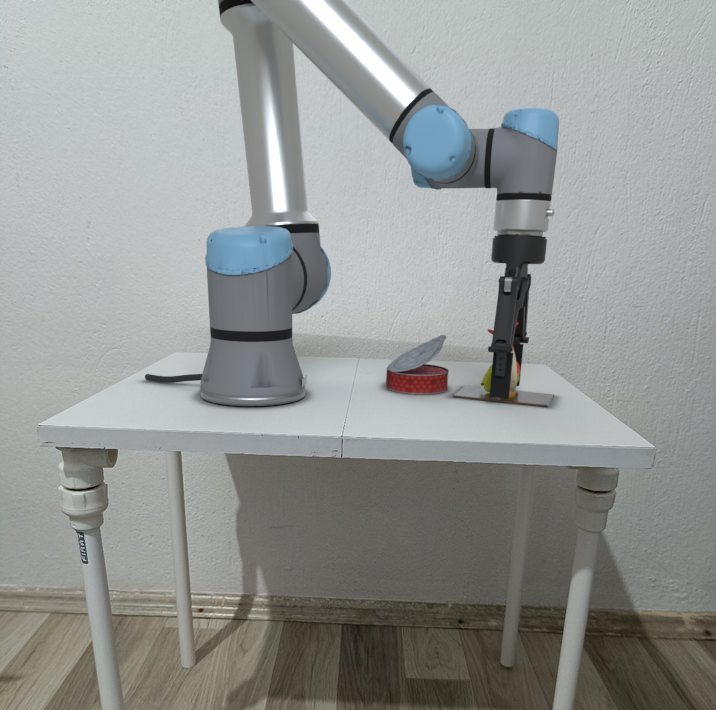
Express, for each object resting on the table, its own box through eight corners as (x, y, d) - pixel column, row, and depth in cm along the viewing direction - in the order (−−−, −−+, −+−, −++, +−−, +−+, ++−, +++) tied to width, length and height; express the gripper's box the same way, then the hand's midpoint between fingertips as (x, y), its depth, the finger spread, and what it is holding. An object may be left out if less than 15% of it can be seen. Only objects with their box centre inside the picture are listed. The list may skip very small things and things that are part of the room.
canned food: (433, 423, 103) (430, 372, 96) (376, 407, 108) (370, 357, 100) (462, 379, 110) (461, 329, 102) (408, 366, 114) (403, 317, 107)
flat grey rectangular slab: (453, 397, 100) (453, 395, 100) (464, 387, 107) (465, 385, 107) (547, 407, 96) (548, 405, 95) (553, 396, 103) (554, 394, 102)
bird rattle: (528, 411, 100) (514, 376, 107) (546, 347, 92) (529, 315, 99) (488, 411, 100) (476, 376, 106) (502, 347, 92) (488, 314, 99)
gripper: (537, 233, 83) (518, 408, 90) (555, 236, 102) (539, 380, 109) (477, 232, 85) (464, 403, 93) (506, 235, 104) (493, 376, 112)
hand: (504, 390), depth 101 cm, fingers closed on bird rattle, 9 cm apart
